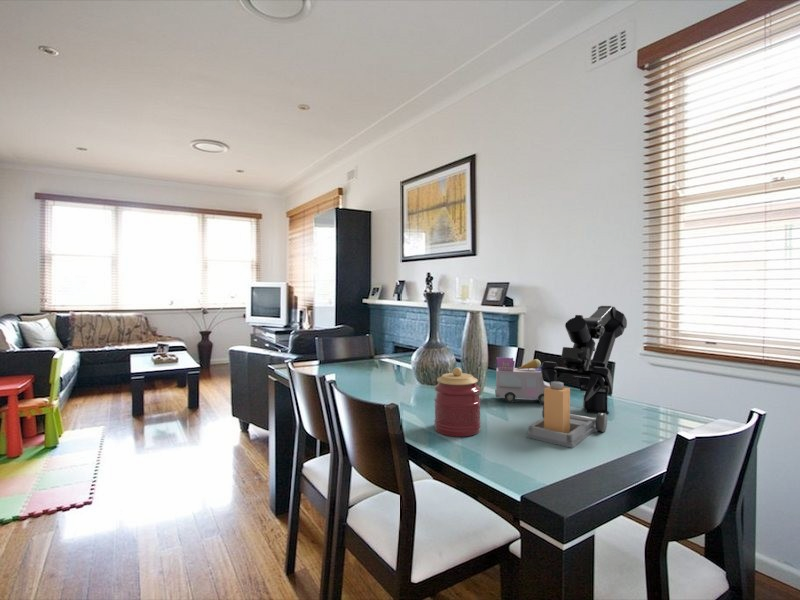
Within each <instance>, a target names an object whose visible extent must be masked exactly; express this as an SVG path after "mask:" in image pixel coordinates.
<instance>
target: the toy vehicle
mask: <svg viewBox="0 0 800 600" xmlns="http://www.w3.org/2000/svg"><path fill="white" fill-rule="evenodd" d="M515 362H516V361H515V360H514V357H505V356H504V357H497V356H496V363H497V367H496V368H495V369H496V370H495V371H496V374H495V376H496V378H495V379H496V380H495V386H496V387H495V388H496V389H495V391H494V393H495V398H502V399H503V402H507V403H509V404H512V403H514V402H515V401H516V399H521V400H522V399H526V400H538V402H539V404H541V405H544V388H547V387H549V386H550V382H546V381H544V378H543V371H542V369H541V365H542V363H541V361H540V360H539V359H538V358H536V359H533V360H531V361H528V362H527V363H525V364H523V365H521V366H519V367H515Z"/></svg>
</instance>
